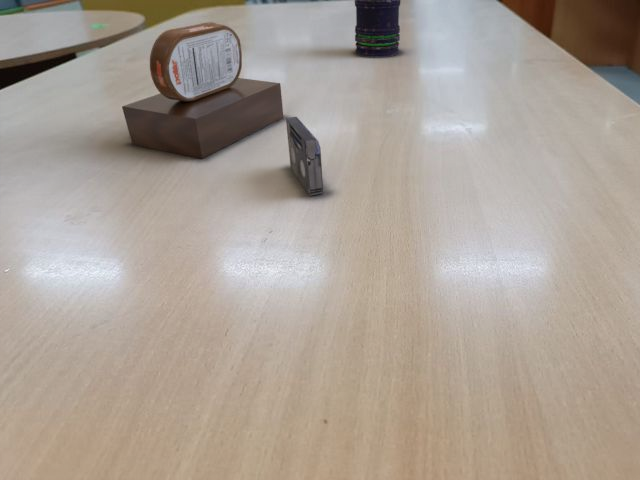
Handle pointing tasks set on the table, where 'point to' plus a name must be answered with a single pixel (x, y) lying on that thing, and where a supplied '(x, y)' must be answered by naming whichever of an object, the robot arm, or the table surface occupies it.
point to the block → (204, 118)
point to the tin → (195, 61)
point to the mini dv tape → (305, 156)
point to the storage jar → (377, 28)
